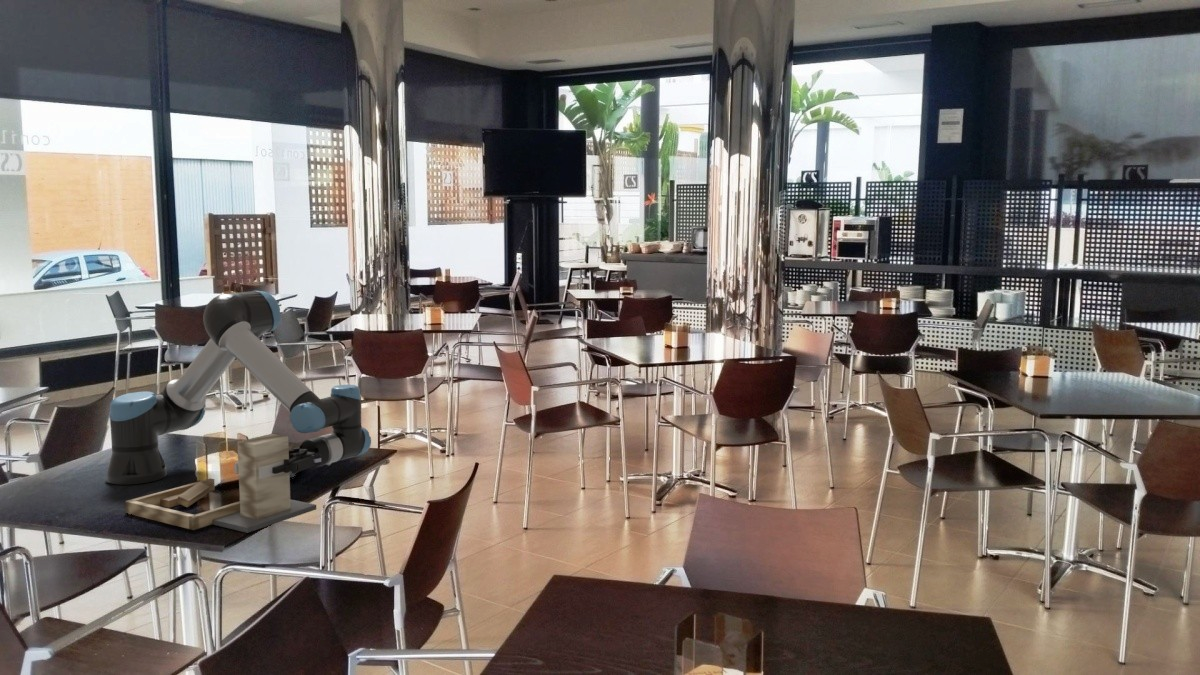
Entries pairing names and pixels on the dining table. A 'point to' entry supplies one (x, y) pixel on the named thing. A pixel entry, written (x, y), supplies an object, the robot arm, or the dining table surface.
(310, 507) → the slate board
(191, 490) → the offcut upper
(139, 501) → the wooden frame
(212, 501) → the dining table surface
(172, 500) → the offcut lower
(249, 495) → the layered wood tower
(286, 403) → the robot arm
